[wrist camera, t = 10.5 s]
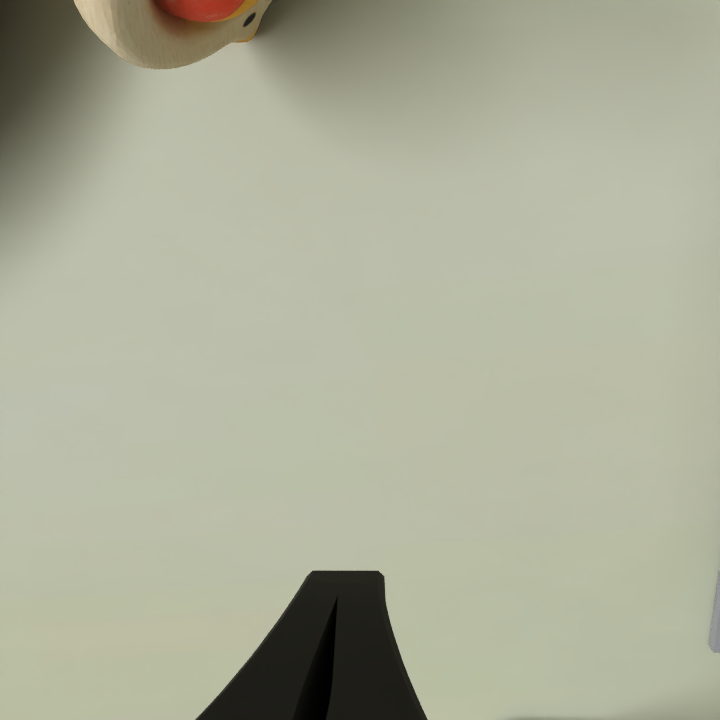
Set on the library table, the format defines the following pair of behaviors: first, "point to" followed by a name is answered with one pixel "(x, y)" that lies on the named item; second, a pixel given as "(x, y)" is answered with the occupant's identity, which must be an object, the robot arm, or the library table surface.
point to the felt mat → (716, 622)
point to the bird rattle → (171, 27)
